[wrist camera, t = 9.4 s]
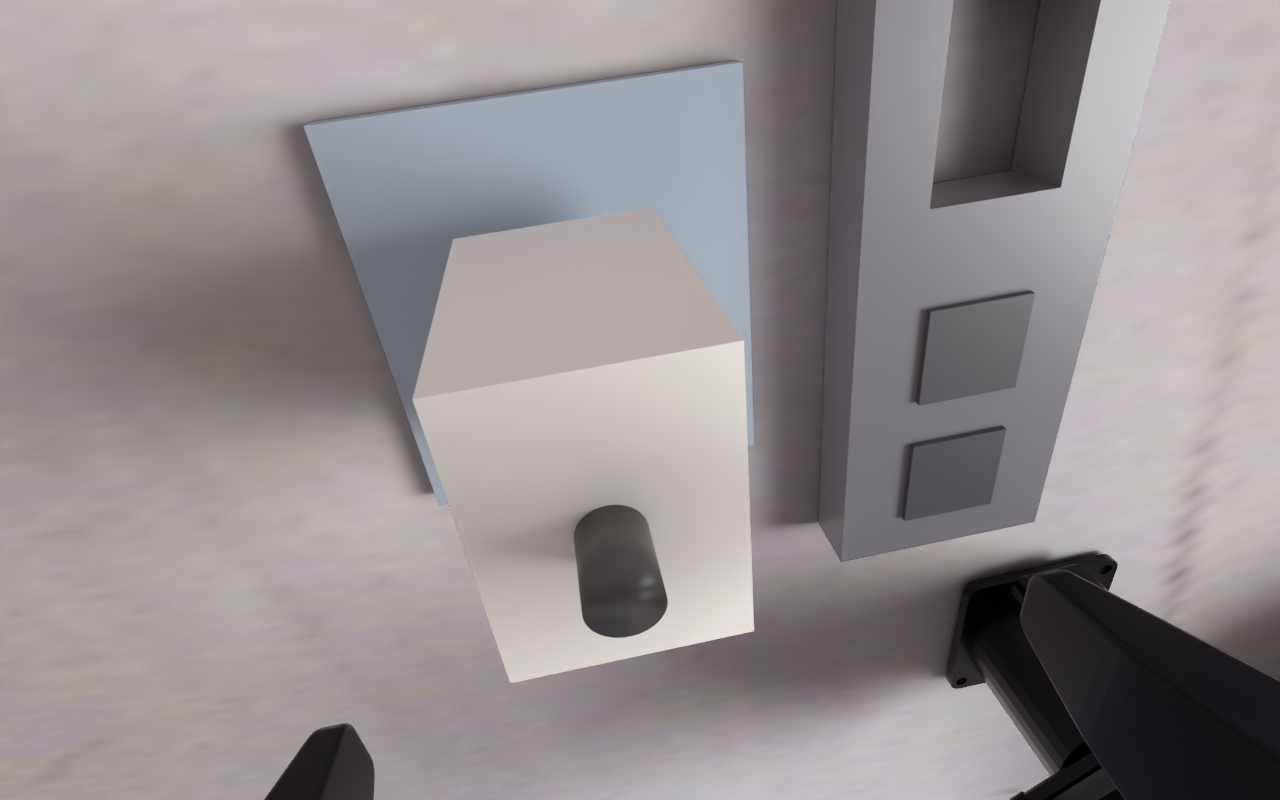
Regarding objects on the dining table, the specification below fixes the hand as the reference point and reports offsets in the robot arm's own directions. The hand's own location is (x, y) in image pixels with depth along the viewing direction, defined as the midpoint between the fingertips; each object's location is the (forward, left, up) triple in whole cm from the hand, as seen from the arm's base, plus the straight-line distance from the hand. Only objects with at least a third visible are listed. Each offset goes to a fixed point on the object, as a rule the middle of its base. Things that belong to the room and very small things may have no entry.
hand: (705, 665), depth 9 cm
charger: (0, +1, -11) cm, 11 cm away
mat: (0, +1, -12) cm, 12 cm away
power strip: (+2, -10, -12) cm, 16 cm away
